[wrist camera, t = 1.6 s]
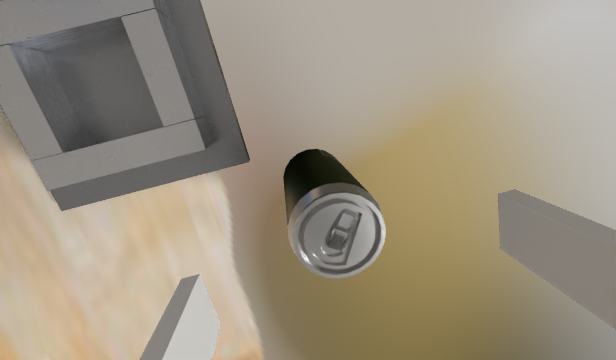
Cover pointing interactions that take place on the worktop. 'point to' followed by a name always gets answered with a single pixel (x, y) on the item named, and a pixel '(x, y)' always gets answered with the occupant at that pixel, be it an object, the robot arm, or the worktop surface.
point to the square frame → (115, 94)
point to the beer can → (330, 216)
